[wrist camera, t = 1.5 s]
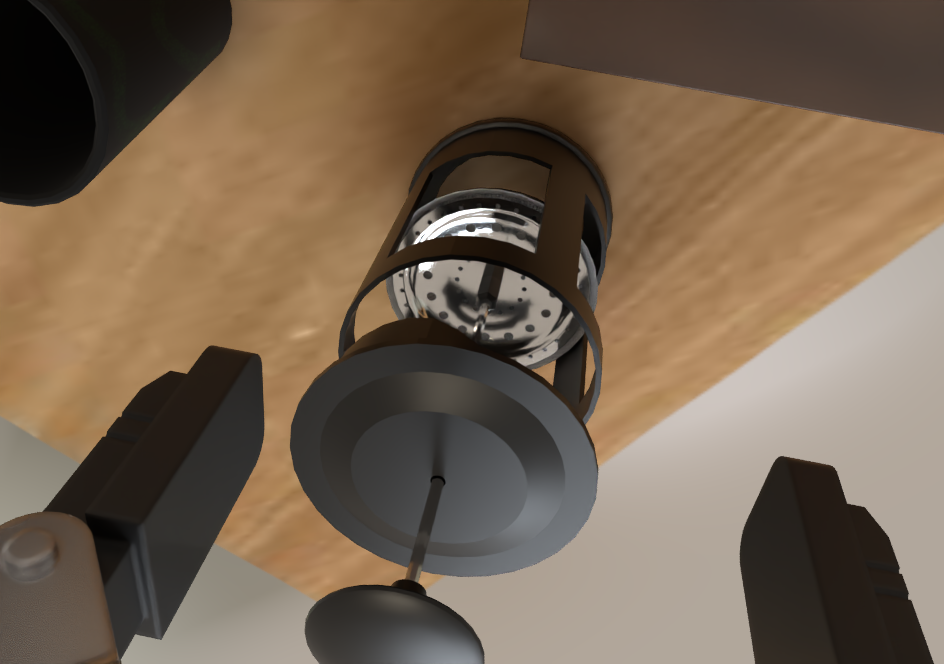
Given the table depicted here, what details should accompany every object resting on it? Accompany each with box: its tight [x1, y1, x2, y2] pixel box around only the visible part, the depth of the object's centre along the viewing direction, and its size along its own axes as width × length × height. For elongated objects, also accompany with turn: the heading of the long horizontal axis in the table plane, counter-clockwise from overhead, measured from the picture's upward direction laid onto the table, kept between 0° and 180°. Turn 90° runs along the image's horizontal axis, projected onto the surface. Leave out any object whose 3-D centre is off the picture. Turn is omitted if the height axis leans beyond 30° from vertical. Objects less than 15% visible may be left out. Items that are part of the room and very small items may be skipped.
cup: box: [0, 0, 232, 207], centre depth 29 cm, size 8×8×12 cm
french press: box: [290, 118, 613, 664], centre depth 28 cm, size 12×9×23 cm
